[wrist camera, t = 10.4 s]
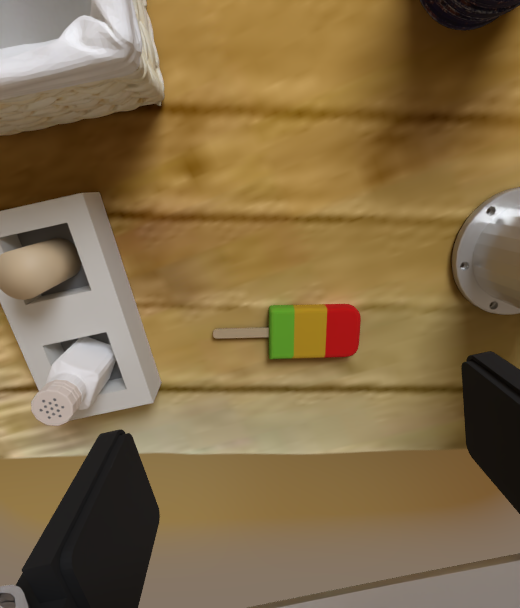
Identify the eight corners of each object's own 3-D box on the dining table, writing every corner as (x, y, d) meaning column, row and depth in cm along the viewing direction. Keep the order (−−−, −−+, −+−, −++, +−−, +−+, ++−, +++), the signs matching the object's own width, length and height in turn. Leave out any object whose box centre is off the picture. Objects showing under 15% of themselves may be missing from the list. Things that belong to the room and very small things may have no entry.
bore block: (99, 192, 35) (59, 193, 27) (161, 382, 41) (142, 428, 33) (-6, 215, 35) (-76, 223, 28) (70, 402, 41) (31, 451, 33)
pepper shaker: (110, 379, 39) (70, 437, 30) (71, 366, 39) (19, 421, 30) (121, 346, 38) (84, 395, 29) (82, 332, 38) (31, 378, 29)
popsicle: (354, 350, 42) (359, 358, 40) (214, 354, 41) (213, 362, 39) (357, 302, 40) (363, 307, 38) (212, 305, 39) (211, 311, 37)
